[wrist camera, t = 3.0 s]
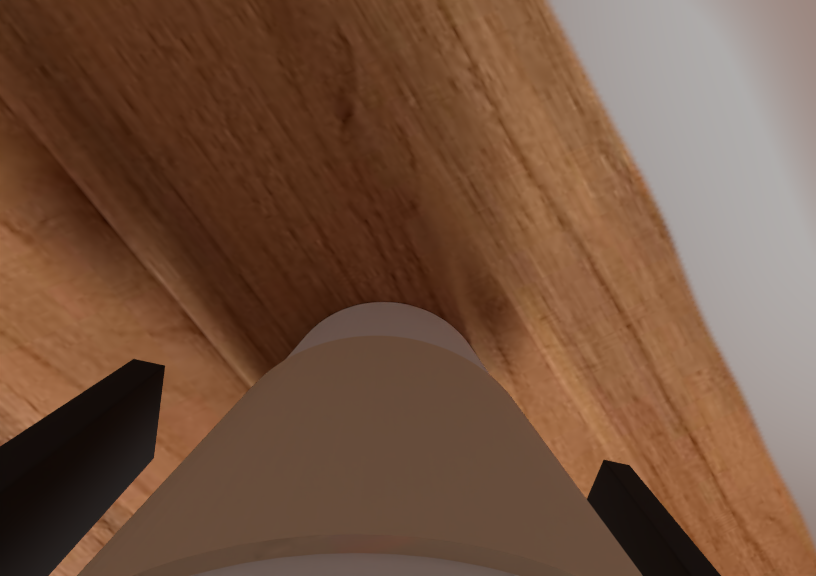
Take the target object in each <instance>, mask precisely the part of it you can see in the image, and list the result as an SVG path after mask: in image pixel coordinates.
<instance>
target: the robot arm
mask: <svg viewBox="0 0 816 576" xmlns="http://www.w3.org/2000/svg"><path fill="white" fill-rule="evenodd" d="M164 370H165V366H164V365H159V364H155V363H150V362H145V361H141V360H136V359H133V360H131V361H130V362H128V363H127V364H125V365H124V366H122V367H121V368H119V369H118V370H116V371H115V372H113V373H112V374H110V375H109V376H107V377H106V378H104V379H103V380H101V381H99V382H98V383H96V384H95V385H93V386H92V387H90V388H89V389H87V390H86V391H84V392H83V393H81V394H80V395H78V396H77V397H75V398H74V399H72V400H71V401H69V402H67V403H66V404H64V405H63V406H61V407H60V408H58V409H57V410H55V411H54V412H52V413H51V414H49V415H48V416H46V417H45V418H43V419H42V420H40V421H39V422H37V423H35V424H34V425H32V426H31V427H29V428H28V429H26V430H25V431H23V432H22V433H20V434H19V435H17V436H16V437H14V438H13V439H11V440H10V441H8V442H7V443H5V444H3V445H2V446H0V576H49V574H50V573H51V572H52V571H53V570H54V569H55V568H56V567H57V566H58V564H59V563H60V562H61V561H62V560H63V559H64V558H65V557H66V556H67V554H68V553H69V552H70V551H71V550H72V549H73V548H74V547H75V545H76V544H77V543H78V542H79V541H80V540H81V539H82V538H83V537H84V535H85V534H86V533H87V532H88V531H89V530H90V529H91V528H92V526H93V525H94V524H95V523H96V522H97V521H98V520H99V519H100V518H101V516H102V515H103V514H104V513H105V512H106V511H107V510H108V509H109V508H110V506H111V505H112V504H113V503H114V502H115V501H116V500H117V499H118V497H119V496H120V495H121V494H122V493H123V492H124V491H125V490H126V489H127V487H128V486H129V485H130V484H131V483H132V482H133V481H134V480H135V478H136V477H137V476H138V475H139V474H140V473H141V472H142V471H143V470H144V468H145V467H146V466H147V465H148V464H149V463H150V462H151V461H152V459H153V458H154V452H155V444H156V436H157V427H158V419H159V411H160V403H161V394H162V386H163V378H164ZM587 501H588V502H589V503H590V505H591V506H592V507H593V509H594V510H595V512H596V513H597V514H598V516H599V517H600V518H601V520H602V521H603V522H604V524H605V525H606V526H607V528H608V529H609V531H610V532H611V533H612V535H613V536H614V537H615V539H616V540H617V541H618V543H619V544H620V545H621V547H622V548H623V550H624V551H625V552H626V554H627V555H628V556H629V558H630V559H631V560H632V562H633V563H634V565H635V566H636V567H637V569H638V570H639V571H640V573H641V574H642V575H643V576H721V575H720V574H719V573H718V572H717V570H716V569H715V568H714V567H713V566H712V564H711V563H710V562H709V561H708V560H707V558H706V557H705V556H704V555H703V554H702V552H701V551H700V550H699V549H698V547H697V546H696V545H695V544H694V543H693V541H692V540H691V539H690V538H689V537H688V535H687V534H686V533H685V532H684V531H683V529H682V528H681V527H680V526H679V525H678V523H677V522H676V521H675V520H674V519H673V517H672V516H671V515H670V514H669V513H668V511H667V510H666V509H665V508H664V506H663V505H662V504H661V503H660V502H659V500H658V499H657V498H656V497H655V496H654V494H653V493H652V492H651V491H650V490H649V488H648V487H647V486H646V485H645V484H644V482H643V481H642V480H641V479H640V478H639V476H638V475H637V474H636V473H635V472H634V470H633V469H632V468H631V467H630V465H626V464H621V463H616V462H612V461H607V460H603V463H602V465H601V467H600V470H599V472H598V474H597V477H596V479H595V481H594V484H593V486H592V488H591V491H590V493H589V495H588V498H587Z"/></svg>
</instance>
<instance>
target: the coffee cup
mask: <svg viewBox="0 0 816 576" xmlns="http://www.w3.org/2000/svg"><path fill="white" fill-rule="evenodd" d="M77 576H643V575H642V574H641V573H640V571H639V570H638V569H637V567H636V566H635V565H634V563H633V562H632V560H631V559H630V558H629V556H628V555H627V554H626V552H625V551H624V550H623V548H622V547H621V545H620V544H619V543H618V541H617V540H616V539H615V537H614V536H613V535H612V533H611V532H610V531H609V529H608V528H607V526H606V525H605V524H604V522H603V521H602V520H601V518H600V517H599V516H598V514H597V513H596V512H595V510H594V509H593V507H592V506H591V505H590V503H589V502H588V501H587V499H586V498H585V497H584V495H583V494H582V492H581V491H580V490H579V488H578V487H577V486H576V484H575V483H574V482H573V480H572V479H571V478H570V476H569V475H568V473H567V472H566V471H565V469H564V468H563V467H562V465H561V464H560V463H559V461H558V460H557V458H556V457H555V456H554V454H553V453H552V452H551V450H550V449H549V448H548V446H547V445H546V444H545V442H544V441H543V439H542V438H541V437H540V435H539V434H538V433H537V431H536V430H535V429H534V427H533V426H532V424H531V423H530V422H529V420H528V419H527V418H526V416H525V415H524V414H523V412H522V411H521V410H520V408H519V407H518V405H517V404H516V403H515V401H514V400H513V399H512V397H511V396H510V395H509V394H508V392H507V391H506V390H505V389H504V388H503V387H502V386H501V385H500V384H499V383H498V382H497V381H496V380H495V379H494V378H493V377H492V376H490V374H489V373H488V371H487V370H486V368H485V367H484V366H483V364H482V363H481V361H480V360H479V358H478V357H477V355H476V354H475V352H474V351H473V349H472V348H471V346H470V345H469V344H468V342H467V341H466V340H465V338H464V337H463V336H462V335H461V334H460V333H459V332H458V331H457V330H456V329H455V328H454V327H453V326H451V325H450V324H449V323H447V322H446V321H445V320H443V319H441V318H440V317H438V316H436V315H435V314H433V313H431V312H428V311H426V310H424V309H421V308H418V307H415V306H411V305H407V304H402V303H394V302H373V303H365V304H360V305H356V306H352V307H349V308H346V309H343V310H341V311H339V312H336V313H334V314H333V315H331V316H329V317H327V318H326V319H324V320H323V321H321V322H320V323H319V324H318V325H316V326H315V327H314V328H313V329H312V330H311V331H310V332H309V333H308V334H307V335H306V336H305V337H304V338H303V340H302V341H301V342H300V343H299V344H298V345H297V347H296V348H295V349H294V350H293V351H292V352H291V353H290V355H289V356H288V357H287V358H286V359H285V360H284V361H282V362H281V363H279V364H278V365H276V366H275V367H274V368H272V369H271V370H270V371H268V372H267V373H266V374H265V375H264V376H262V377H261V378H260V379H259V380H258V381H257V382H256V383H255V384H254V385H253V386H252V387H251V388H250V389H249V390H248V392H247V393H246V394H245V395H244V396H243V397H242V398H241V399H240V400H239V401H238V402H237V403H236V404H235V406H234V407H233V408H232V409H231V410H230V411H229V412H228V413H227V414H226V415H225V416H224V417H223V419H222V420H221V421H220V422H219V423H218V424H217V425H216V426H215V427H214V428H213V429H212V430H211V431H210V433H209V434H208V435H207V436H206V437H205V438H204V439H203V440H202V441H201V442H200V443H199V444H198V445H197V447H196V448H195V449H194V450H193V451H192V452H191V453H190V454H189V455H188V456H187V457H186V458H185V460H184V461H183V462H182V463H181V464H180V465H179V466H178V467H177V468H176V469H175V470H174V471H173V472H172V474H171V475H170V476H169V477H168V478H167V479H166V480H165V481H164V482H163V483H162V484H161V485H160V487H159V488H158V489H157V490H156V491H155V492H154V493H153V494H152V495H151V496H150V497H149V498H148V499H147V501H146V502H145V503H144V504H143V505H142V506H141V507H140V508H139V509H138V510H137V511H136V512H135V514H134V515H133V516H132V517H131V518H130V519H129V520H128V521H127V522H126V523H125V524H124V525H123V526H122V528H121V529H120V530H119V531H118V532H117V533H116V534H115V535H114V536H113V537H112V538H111V539H110V540H109V542H108V543H107V544H106V545H105V546H104V547H103V548H102V549H101V550H100V551H99V552H98V553H97V555H96V556H95V557H94V558H93V559H92V560H91V561H90V562H89V563H88V564H87V565H86V566H85V567H84V569H83V570H82V571H81V572H80V573H79V574H78V575H77Z"/></svg>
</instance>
